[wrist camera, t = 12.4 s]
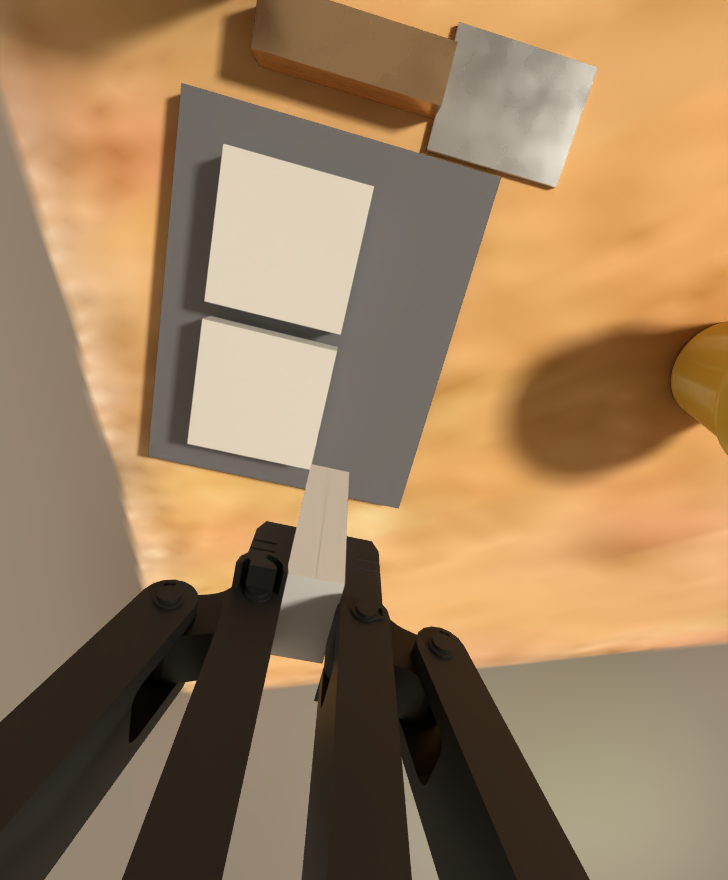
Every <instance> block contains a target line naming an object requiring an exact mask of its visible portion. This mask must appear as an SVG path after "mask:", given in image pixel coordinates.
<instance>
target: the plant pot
mask: <svg viewBox="0 0 728 880" xmlns="http://www.w3.org/2000/svg"><path fill="white" fill-rule="evenodd" d="M671 389H672V393H673V396H674V398H675V400H676V402H677V403H678V405H679V406H680V407H681V408H682V409H683V410H685V411H686V412H687V413H688V414H690V415H691V416H692V417H693V418H695V419H696V420H697V421H698V422H700V423H701V424H702V425H703V426H705V427H706V428H707V429H708V430H709V431H711V432H712V433H713V434H714V435H716V436H717V438H718V440H719V443H720V445H721V447H722V448H723V450H724V451H725V453H726V454H727V455H728V322H723V323H719V324H716V325H713V326H711V327H709V328H707V329H705V330H703V331H702V332H700V333H699V334H697V335H696V336H695V337H693V338H692V339H691V340H690V341H689V342H688V343H687V344H686V346H685V347H684V348H683V349H682V351H681V352H680V354H679V355H678V357H677V359H676V361H675V364H674V366H673V370H672V375H671Z"/></svg>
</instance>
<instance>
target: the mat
mask: <svg viewBox="0 0 728 880" xmlns="http://www.w3.org/2000/svg"><path fill="white" fill-rule="evenodd" d="M223 144H227V145H230V146H234V147H237V148H241V149H244V150H248V151H251V152H255V153H258V154H262V155H265V156H269V157H272V158H276V159H279V160H283V161H286V162H290V163H293V164H297V165H300V166H304V167H307V168H311V169H314V170H318V171H321V172H325V173H328V174H332V175H336V176H339V177H343V178H346V179H350V180H353V181H357V182H360V183H364V184H367V185H371V186H374V190H373V194H372V198H371V203H370V207H369V212H368V216H367V221H366V225H365V229H364V234H363V238H362V243H361V247H360V252H359V256H358V260H357V265H356V269H355V274H354V278H353V282H352V287H351V291H350V296H349V300H348V305H347V309H346V313H345V318H344V322H343V327H342V331H341V335H339V334H335V333H331V332H327V331H323V330H319V329H315V328H311V327H307V326H303V325H299V324H295V323H291V322H286V321H282V320H278V319H274V318H270V317H266V316H262V315H258V314H254V313H250V312H246V311H242V310H238V309H234V308H230V307H226V306H222V305H218V304H214V303H209V302H205V301H204V300H205V292H206V283H207V275H208V267H209V258H210V250H211V242H212V234H213V225H214V217H215V209H216V200H217V192H218V184H219V176H220V167H221V159H222V151H223ZM500 180H501V177H498V176H494V175H491V174H487V173H484V172H481V171H477V170H474V169H470V168H467V167H464V166H460V165H457V164H454V163H450V162H447V161H443V160H440V159H437V158H433V157H430V156H427V155H423V154H420V153H416V152H413V151H410V150H406V149H403V148H400V147H396V146H393V145H389V144H386V143H383V142H379V141H376V140H373V139H369V138H366V137H362V136H359V135H356V134H352V133H349V132H346V131H342V130H339V129H335V128H332V127H329V126H325V125H322V124H319V123H315V122H312V121H308V120H305V119H302V118H298V117H295V116H291V115H288V114H285V113H281V112H278V111H275V110H271V109H268V108H264V107H261V106H258V105H254V104H251V103H248V102H244V101H241V100H237V99H234V98H231V97H227V96H224V95H221V94H217V93H214V92H210V91H207V90H204V89H200V88H197V87H194V86H190V85H187V84H183V83H181V94H180V106H179V117H178V128H177V139H176V150H175V161H174V173H173V184H172V195H171V206H170V217H169V228H168V239H167V251H166V262H165V273H164V284H163V295H162V306H161V318H160V329H159V340H158V351H157V362H156V373H155V385H154V396H153V407H152V418H151V429H150V440H149V452H148V457H153V458H158V459H163V460H168V461H173V462H177V463H182V464H187V465H192V466H197V467H201V468H206V469H211V470H216V471H221V472H225V473H230V474H235V475H240V476H245V477H250V478H254V479H259V480H264V481H269V482H274V483H278V484H283V485H288V486H293V487H298V488H303V489H305V488H306V484H307V479H308V475H309V471H310V470H309V469H304V468H299V467H295V466H290V465H285V464H280V463H276V462H271V461H266V460H262V459H257V458H252V457H247V456H243V455H238V454H233V453H229V452H224V451H219V450H215V449H210V448H205V447H200V446H196V445H191V444H187V442H188V433H189V425H190V417H191V409H192V400H193V392H194V384H195V375H196V367H197V359H198V351H199V342H200V334H201V326H202V319H203V318H206V317H208V316H213V317H217V318H221V319H225V320H229V321H233V322H238V323H242V324H246V325H250V326H254V327H258V328H262V329H266V330H270V331H275V332H279V333H283V334H287V335H291V336H295V337H299V338H303V339H307V340H311V341H316V342H320V343H324V344H328V345H332V346H336V347H338V349H337V354H336V358H335V363H334V367H333V371H332V376H331V380H330V385H329V389H328V394H327V398H326V402H325V407H324V411H323V416H322V420H321V425H320V429H319V433H318V438H317V442H316V447H315V451H314V456H313V460H312V464H314V465H318V466H323V467H327V468H332V469H337V470H341V471H346V472H349V488H348V498H351V499H355V500H360V501H365V502H370V503H375V504H380V505H384V506H389V507H394V508H399V506H400V502H401V499H402V496H403V493H404V489H405V486H406V483H407V480H408V477H409V473H410V470H411V467H412V464H413V460H414V457H415V454H416V451H417V447H418V444H419V441H420V438H421V435H422V431H423V428H424V425H425V422H426V418H427V415H428V412H429V409H430V406H431V402H432V399H433V396H434V393H435V389H436V386H437V383H438V380H439V376H440V373H441V370H442V367H443V364H444V360H445V357H446V354H447V351H448V347H449V344H450V341H451V338H452V334H453V331H454V328H455V325H456V322H457V318H458V315H459V312H460V309H461V305H462V302H463V299H464V296H465V293H466V289H467V286H468V283H469V280H470V276H471V273H472V270H473V267H474V263H475V260H476V257H477V254H478V251H479V247H480V244H481V241H482V238H483V234H484V231H485V228H486V225H487V221H488V218H489V215H490V212H491V209H492V205H493V202H494V199H495V196H496V192H497V189H498V186H499V183H500Z"/></svg>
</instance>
